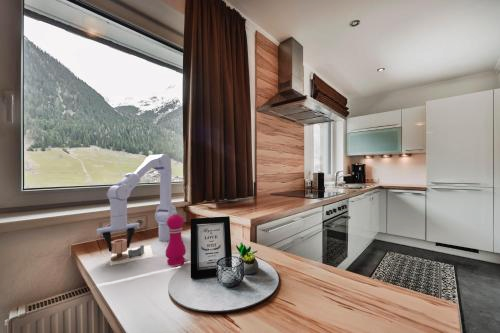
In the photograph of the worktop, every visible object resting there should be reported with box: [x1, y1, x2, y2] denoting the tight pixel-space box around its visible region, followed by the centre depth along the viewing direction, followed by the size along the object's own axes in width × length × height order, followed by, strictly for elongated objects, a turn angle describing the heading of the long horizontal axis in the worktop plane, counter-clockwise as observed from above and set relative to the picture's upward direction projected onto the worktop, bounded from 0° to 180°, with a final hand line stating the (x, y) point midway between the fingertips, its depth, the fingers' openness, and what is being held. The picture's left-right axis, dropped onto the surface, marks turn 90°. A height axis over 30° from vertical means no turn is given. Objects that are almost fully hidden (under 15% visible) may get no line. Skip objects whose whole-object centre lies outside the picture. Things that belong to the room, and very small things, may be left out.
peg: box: [110, 253, 128, 261], centre depth 87 cm, size 6×6×5 cm
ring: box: [110, 238, 128, 255], centre depth 87 cm, size 6×6×4 cm
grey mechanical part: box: [128, 245, 145, 258], centre depth 90 cm, size 6×5×3 cm
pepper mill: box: [165, 210, 187, 268], centre depth 82 cm, size 7×7×20 cm
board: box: [109, 244, 154, 266], centre depth 91 cm, size 15×16×1 cm
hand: (119, 249), depth 87 cm, fingers closed on ring, 5 cm apart
